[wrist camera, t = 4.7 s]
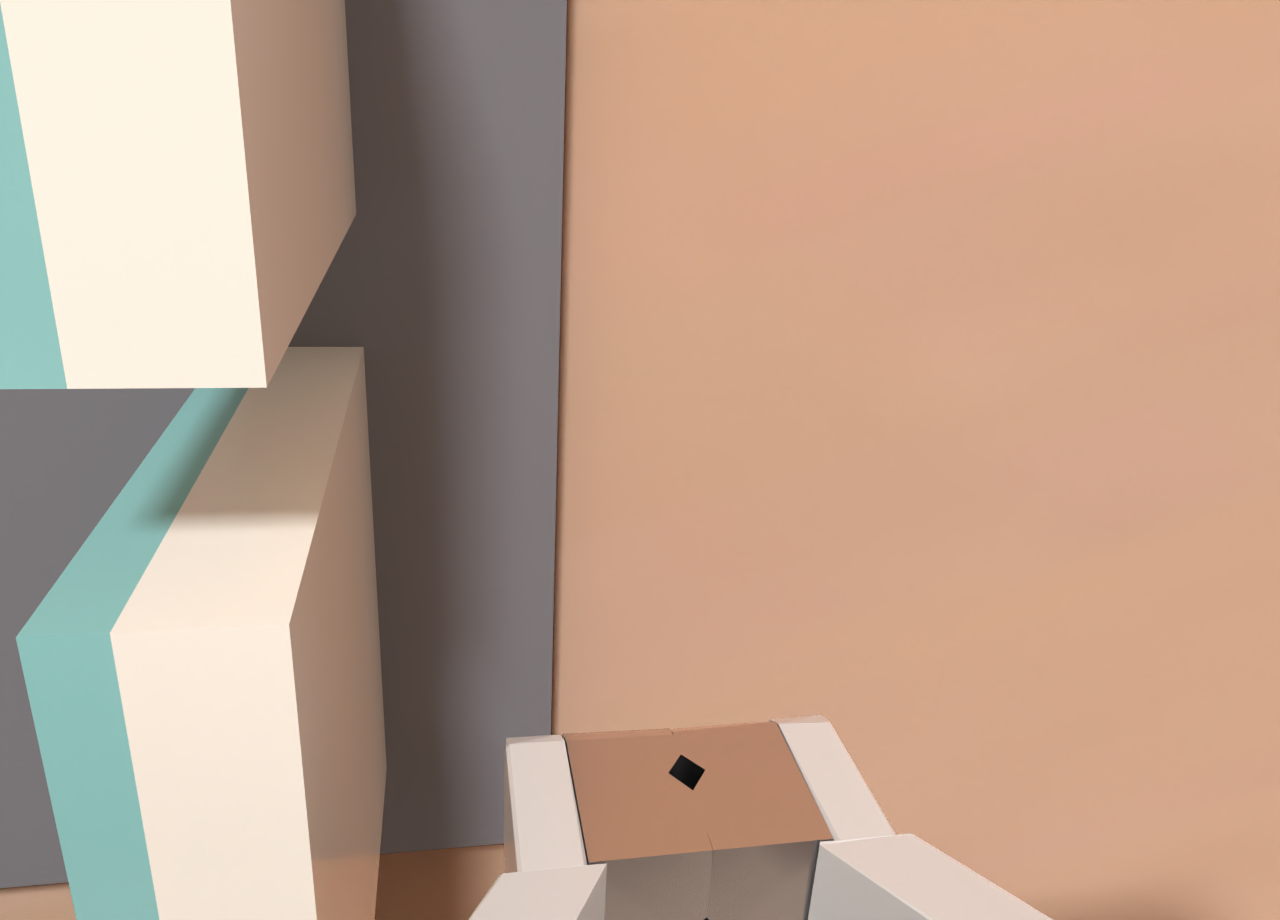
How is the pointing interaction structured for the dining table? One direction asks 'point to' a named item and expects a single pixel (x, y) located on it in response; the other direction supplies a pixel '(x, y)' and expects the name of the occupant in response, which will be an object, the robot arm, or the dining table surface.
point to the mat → (381, 419)
